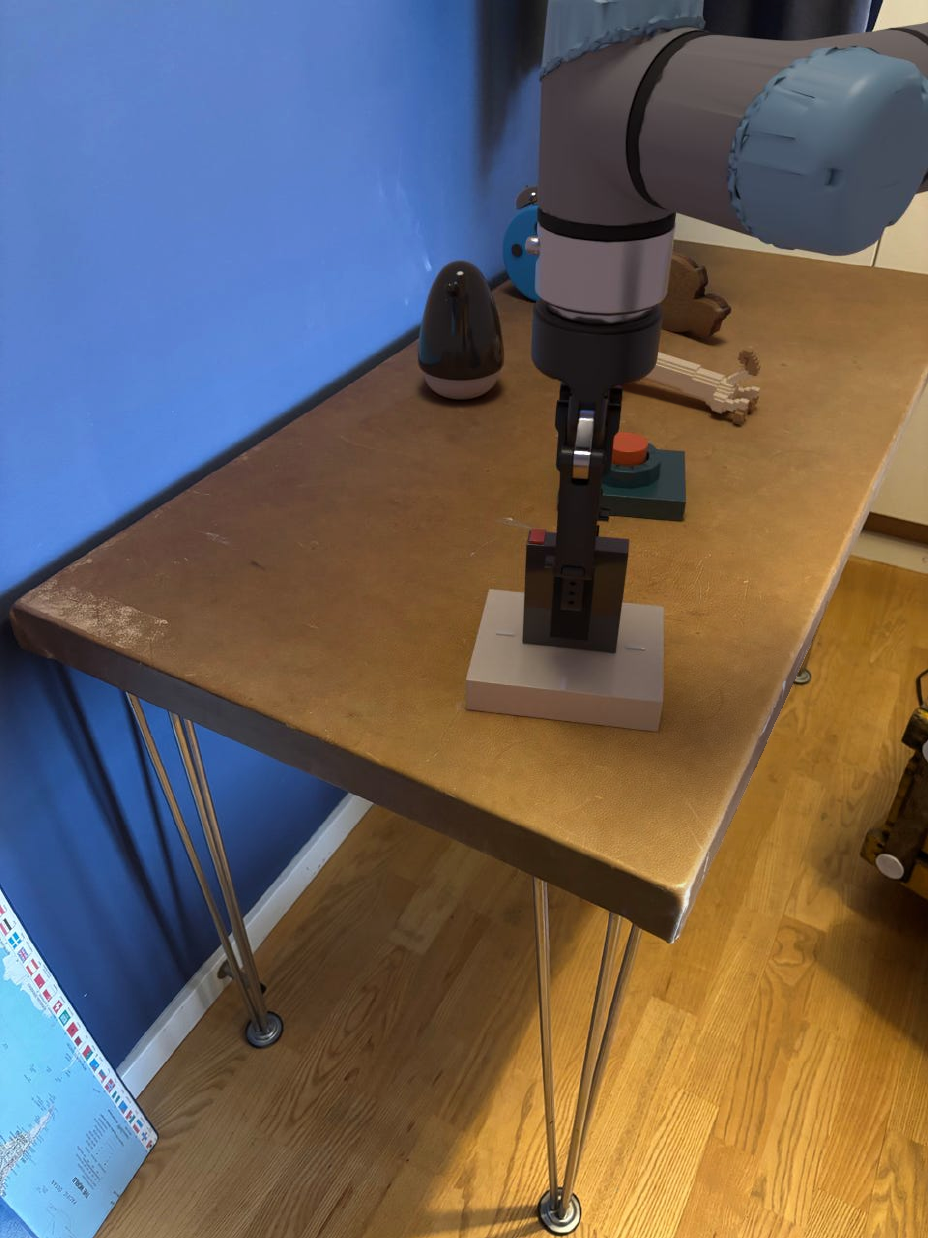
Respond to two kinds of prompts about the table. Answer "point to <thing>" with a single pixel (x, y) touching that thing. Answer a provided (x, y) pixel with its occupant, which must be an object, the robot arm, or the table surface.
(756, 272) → the table surface
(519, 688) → the plate
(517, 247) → the alarm clock
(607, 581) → the tap handle
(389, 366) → the table surface
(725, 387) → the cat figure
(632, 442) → the button
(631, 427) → the table surface
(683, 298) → the wooden carving
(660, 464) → the button block
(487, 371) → the dark egg shaped device
